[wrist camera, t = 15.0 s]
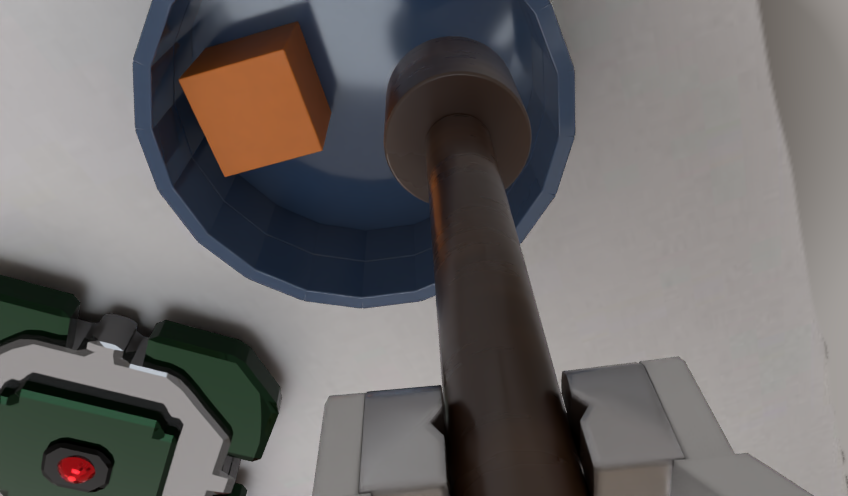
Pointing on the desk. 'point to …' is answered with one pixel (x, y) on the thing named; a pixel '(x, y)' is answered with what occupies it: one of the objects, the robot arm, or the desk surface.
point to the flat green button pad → (123, 403)
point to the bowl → (340, 140)
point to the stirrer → (480, 269)
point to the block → (258, 99)
